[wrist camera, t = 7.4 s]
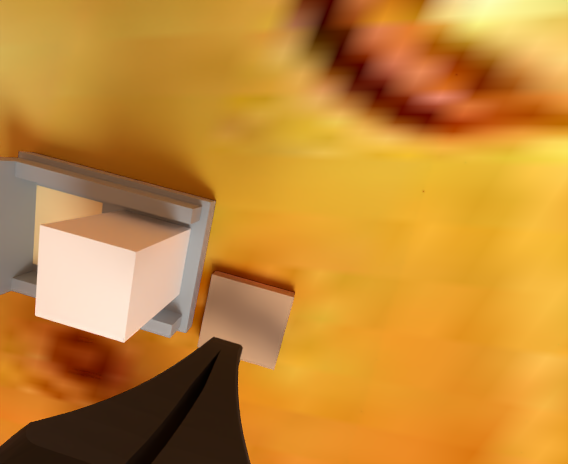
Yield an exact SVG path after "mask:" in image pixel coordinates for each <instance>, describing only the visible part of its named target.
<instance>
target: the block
mask: <svg viewBox="0 0 568 464" xmlns="http://www.w3.org/2000/svg"><path fill="white" fill-rule="evenodd" d="M190 232H191V228H187V227H183V226H180V225H176V224H172V223H169V222H165V221H161V220H158V219H154V218H150V217H147V216H143V215H140V214H136V213H132V212H129V211H125V210H119V211H114V212H108V213H103V214H97V215H92V216H86V217H80V218H75V219H69V220H64V221H58V222H53V223H47V224H42V225H40V233H39V252H38V270H37V288H36V306H35V316H38V317H41V318H44V319H48V320H51V321H54V322H58V323H61V324H64V325H67V326H71V327H74V328H77V329H81V330H84V331H87V332H91V333H94V334H97V335H100V336H104V337H107V338H110V339H114V340H117V341H120V342H125V341H126V340H128V339H129V338H130V337H131V336H132V335H133V334H134V333H136V332H137V331H138V330H139V329H140V328H141V327H142V326H144V325H145V324H146V323H147V322H148V321H149V320H150V319H152V318H153V317H154V316H155V315H156V314H157V313H158V312H160V311H161V310H162V309H163V308H164V307H165V306H167V305H168V304H169V303H170V302H171V301H172V300H173V299H175V298H176V297H177V296H178V295H179V293H180V287H181V282H182V276H183V271H184V265H185V259H186V254H187V248H188V243H189V237H190Z"/></svg>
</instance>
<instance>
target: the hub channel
mask: <svg viewBox="0 0 568 464" xmlns="http://www.w3.org/2000/svg"><path fill="white" fill-rule="evenodd" d="M215 203H216V201H214V200H210V199H206V198H202V197H199V196H195V195H191V194H187V193H184V192H180V191H176V190H172V189H169V188H165V187H161V186H157V185H154V184H150V183H146V182H142V181H139V180H135V179H131V178H127V177H124V176H120V175H116V174H112V173H109V172H105V171H101V170H97V169H94V168H90V167H86V166H82V165H78V164H75V163H71V162H67V161H63V160H60V159H56V158H52V157H48V156H45V155H41V154H37V153H33V152H22V151H19V155H18V158H13V157H0V295H1V294H4V293H6V292H9V291H14V292H18V293H21V294H24V295H28V296H31V297H34V298H36V288H37V270H38V252H39V233H40V225H42V224H47V223H53V222H58V221H64V220H69V219H75V218H80V217H86V216H92V215H97V214H103V213H108V212H114V211H119V210H125V211H129V212H132V213H136V214H140V215H143V216H147V217H150V218H154V219H158V220H161V221H165V222H169V223H172V224H176V225H180V226H183V227H187V228H191V232H190V237H189V243H188V248H187V254H186V259H185V265H184V271H183V276H182V282H181V287H180V293H179V295H178V296H177V297H176V298H175V299H173V300H172V301H171V302H170V303H169V304H168V305H167V306H165V307H164V308H163V309H162V310H161V311H160V312H158V313H157V314H156V315H155V316H154V317H153V318H152V319H150V320H149V321H148V322H147V323H146V324H145V325H144V326H142V327H141V328H140V329H142V330H145V331H148V332H152V333H155V334H158V335H162V336H165V337H168V338H171V336H172V335H173V334H174V333H175V332H176V331H180V332H184V333H186V332H187V331H188V330H189V329H190V327H191V326H192V321H193V316H194V311H195V306H196V301H197V296H198V291H199V286H200V280H201V275H202V270H203V265H204V260H205V255H206V250H207V244H208V239H209V234H210V229H211V224H212V219H213V214H214V208H215Z"/></svg>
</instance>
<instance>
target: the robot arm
mask: <svg viewBox="0 0 568 464" xmlns="http://www.w3.org/2000/svg"><path fill="white" fill-rule="evenodd" d="M242 350H243V347H242V345H240V344H237V343H234V342H230V341H227V340H223V339H220V338H217V337H212V338H211V339H209V340H208V341H207V342H206V343H204V344H203V345H202V346H201V347H199V348H198V349H197V350H195V351H194V352H193V353H191V354H190V355H188V356H187V357H185V358H184V359H183V360H181V361H180V362H178V363H177V364H175V365H174V366H172V367H170V368H169V369H167V370H166V371H164V372H162V373H161V374H159V375H157V376H155V377H154V378H152V379H150V380H148V381H146V382H144V383H142V384H141V385H139V386H137V387H135V388H132V389H130V390H128V391H126V392H123V393H121V394H119V395H116V396H114V397H112V398H109V399H107V400H104V401H101V402H98V403H96V404H93V405H90V406H87V407H84V408H81V409H78V410H75V411H72V412H68V413H65V414H61V415H57V416H53V417H50V418H46V419H42V420H39V421H34V422H30V423H29V424H28V425H26V426H25V427H24V428H22V429H21V430H20V431H18V432H17V433H16V434H15V435H13V436H12V437H11V438H10V439H8V440H7V441H6V442H5V443H4V444H3V445H1V446H0V464H251V463H250V460H249V456H248V452H247V448H246V444H245V439H244V435H243V430H242V424H241V418H240V410H239V399H238V366H239V362H240V358H241V354H242Z"/></svg>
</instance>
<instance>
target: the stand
mask: <svg viewBox="0 0 568 464" xmlns="http://www.w3.org/2000/svg"><path fill="white" fill-rule="evenodd" d="M294 295H295V293H294V292H291V291H287V290H284V289H280V288H276V287H273V286H269V285H266V284H262V283H259V282H255V281H252V280H248V279H244V278H241V277H237V276H234V275H230V274H227V273H223V272H219V271H215V272H214V273H213V274H212V277H211V282H210V287H209V292H208V297H207V302H206V307H205V312H204V317H203V321H202V326H201V331H200V336H199V341H198V346H197V347H201V346H202V345H203V344H204V343H206V342H207V341H208V340H209V339H211V338H212V337H217V338H220V339H223V340H227V341H230V342H234V343H237V344H240V345H242V347H243V350H242V354H241V358H240V360H243V361H246V362H249V363H253V364H256V365H259V366H263V367H266V368H269V369H273V370H274V368H275V364H276V361H277V357H278V353H279V350H280V346H281V343H282V339H283V335H284V332H285V328H286V325H287V321H288V318H289V314H290V310H291V307H292V303H293V300H294Z"/></svg>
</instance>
